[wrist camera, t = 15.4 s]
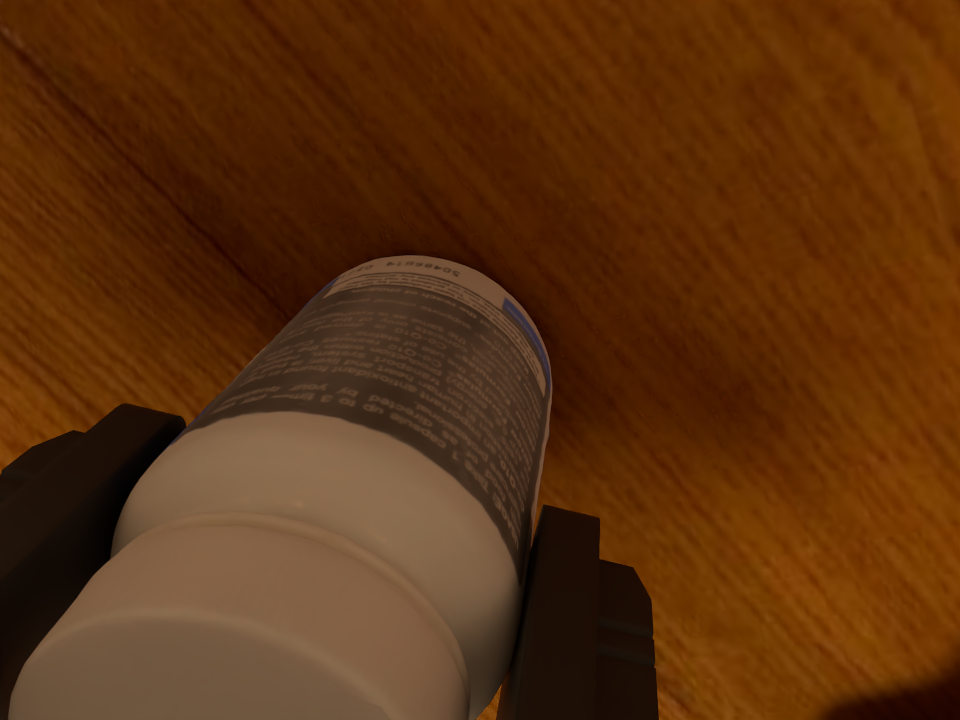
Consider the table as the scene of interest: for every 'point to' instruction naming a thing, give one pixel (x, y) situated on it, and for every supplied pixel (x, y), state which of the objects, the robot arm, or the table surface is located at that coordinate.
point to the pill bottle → (327, 523)
